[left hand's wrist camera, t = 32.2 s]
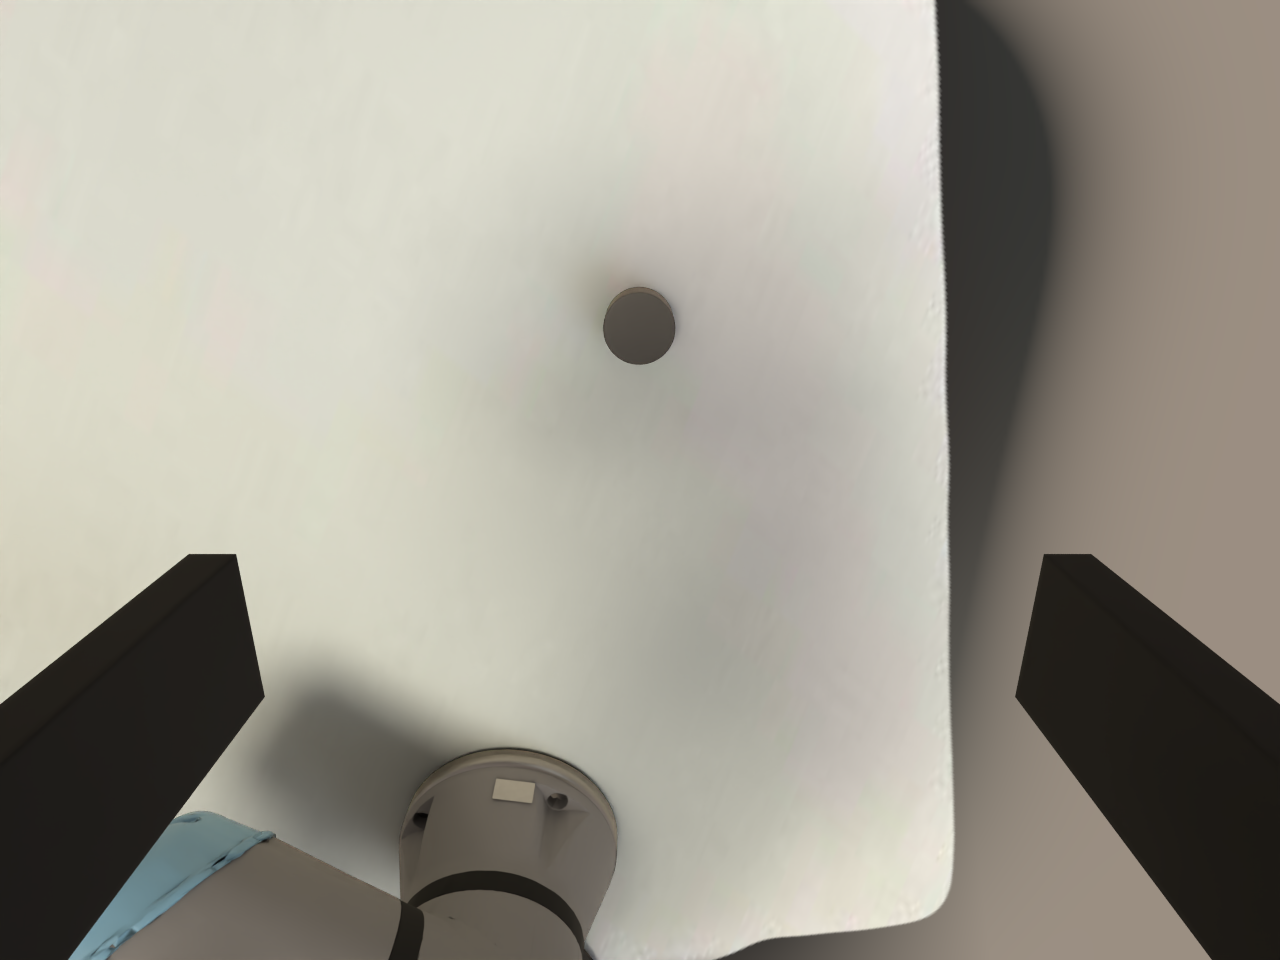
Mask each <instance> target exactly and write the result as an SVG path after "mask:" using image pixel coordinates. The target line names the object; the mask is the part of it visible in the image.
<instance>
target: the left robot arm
mask: <svg viewBox="0 0 1280 960" xmlns="http://www.w3.org/2000/svg"><path fill="white" fill-rule="evenodd" d="M264 697H265V696H264V691H263V686H262V681H261V676H260V671H259V666H258V661H257V656H256V651H255V646H254V641H253V636H252V631H251V626H250V621H249V616H248V611H247V606H246V601H245V596H244V591H243V586H242V581H241V576H240V571H239V566H238V562H237V557H236V554H188V555H187V556H186V557H185V558H183V559H182V560H181V561H180V562H178V563H177V564H176V565H175V566H173V567H172V568H171V569H170V570H168V571H167V572H166V573H165V574H163V575H162V576H161V577H160V578H158V579H157V580H156V581H155V582H153V583H152V584H151V585H150V586H148V587H147V588H146V589H145V590H143V591H142V592H141V593H139V594H138V595H137V596H136V597H134V598H133V599H132V600H131V601H129V602H128V603H127V604H126V605H124V606H123V607H122V608H121V609H119V610H118V611H117V612H116V613H114V614H113V615H112V616H111V617H109V618H108V619H107V620H106V621H104V622H103V623H102V624H101V625H99V626H98V627H97V628H96V629H94V630H93V631H92V632H91V633H89V634H88V635H87V636H86V637H84V638H83V639H82V640H80V641H79V642H78V643H77V644H75V645H74V646H73V647H72V648H70V649H69V650H68V651H67V652H65V653H64V654H63V655H62V656H60V657H59V658H58V659H57V660H55V661H54V662H53V663H52V664H50V665H49V666H48V667H47V668H45V669H44V670H43V671H42V672H40V673H39V674H38V675H37V676H35V677H34V678H33V679H32V680H30V681H29V682H28V683H26V684H25V685H24V686H23V687H21V688H20V689H19V690H18V691H16V692H15V693H14V694H13V695H11V696H10V697H9V698H8V699H6V700H5V701H4V702H3V703H1V704H0V960H593V959H592V958H591V957H590V955H589V954H588V953H587V952H586V951H585V950H584V941H585V939H586V937H587V934H588V932H589V930H590V928H591V925H592V923H593V921H594V919H595V916H596V914H597V912H598V910H599V907H600V905H601V903H602V901H603V898H604V896H605V894H606V891H607V889H608V887H609V885H610V882H611V879H612V876H613V873H614V870H615V865H616V857H617V827H616V821H615V818H614V815H613V812H612V809H611V807H610V805H609V803H608V802H607V800H606V798H605V797H604V795H603V794H602V793H601V791H600V790H599V789H598V788H597V787H596V786H595V784H594V783H593V782H592V781H590V780H589V779H588V778H587V777H586V776H585V775H583V774H582V773H581V772H579V771H578V770H576V769H575V768H573V767H571V766H570V765H568V764H566V763H564V762H562V761H559V760H557V759H554V758H552V757H549V756H546V755H543V754H539V753H534V752H530V751H523V750H511V749H500V750H488V751H482V752H477V753H473V754H469V755H466V756H463V757H460V758H458V759H455V760H453V761H451V762H449V763H447V764H446V765H444V766H442V767H441V768H439V769H438V770H436V771H435V772H434V773H433V774H431V775H430V776H429V777H428V778H427V779H426V780H425V781H424V782H423V783H422V785H421V786H420V787H419V788H418V790H417V792H416V793H415V795H414V797H413V799H412V801H411V803H410V806H409V808H408V811H407V814H406V816H405V819H404V822H403V825H402V828H401V832H400V841H399V865H400V899H401V900H400V899H398V898H396V897H394V896H392V895H390V894H388V893H386V892H384V891H382V890H380V889H378V888H376V887H373V886H371V885H369V884H367V883H365V882H363V881H361V880H359V879H357V878H355V877H353V876H351V875H348V874H346V873H344V872H342V871H340V870H338V869H337V868H335V867H333V866H331V865H329V864H327V863H325V862H323V861H321V860H319V859H317V858H315V857H313V856H311V855H309V854H307V853H305V852H303V851H301V850H299V849H297V848H295V847H293V846H291V845H289V844H287V843H285V842H283V841H281V840H279V839H277V838H276V834H274V833H273V832H270V831H262V832H260V831H258V830H255V829H252V828H250V827H247V826H245V825H242V824H240V823H238V822H235V821H233V820H230V819H228V818H226V817H223V816H221V815H219V814H216V813H213V812H208V811H196V812H190V813H187V814H184V815H182V816H179V817H177V818H175V819H174V817H175V816H176V815H177V813H178V812H179V811H180V809H181V808H182V807H183V805H184V804H185V803H186V801H187V800H188V799H189V797H190V796H191V795H192V793H193V792H194V791H195V789H196V788H197V787H198V785H199V784H200V783H201V781H202V780H203V779H204V777H205V776H206V775H207V773H208V772H209V771H210V769H211V768H212V767H213V765H214V764H215V763H216V761H217V760H218V759H219V757H220V756H221V755H222V753H223V752H224V751H225V749H226V748H227V747H228V745H229V744H230V743H231V741H232V740H233V739H234V737H235V736H236V735H237V733H238V732H239V731H240V729H241V728H242V726H243V725H244V724H245V722H246V721H247V720H248V718H249V717H250V716H251V714H252V713H253V712H254V710H255V709H256V708H257V706H258V705H259V704H260V702H261V701H262V700H263V698H264ZM1015 697H1016V698H1017V700H1018V701H1019V702H1020V704H1021V705H1022V706H1023V708H1024V709H1025V710H1026V712H1027V713H1028V714H1029V716H1030V717H1031V718H1032V720H1033V721H1034V722H1035V724H1036V725H1037V726H1038V728H1039V729H1040V731H1041V732H1042V733H1043V734H1044V736H1045V737H1046V739H1047V740H1048V741H1049V743H1050V744H1051V745H1052V747H1053V748H1054V749H1055V751H1056V752H1057V753H1058V755H1059V756H1060V757H1061V759H1062V760H1063V761H1064V763H1065V764H1066V765H1067V767H1068V768H1069V769H1070V771H1071V772H1072V773H1073V775H1074V776H1075V777H1076V779H1077V780H1078V781H1079V783H1080V784H1081V785H1082V787H1083V788H1084V789H1085V791H1086V792H1087V793H1088V795H1089V796H1090V797H1091V799H1092V800H1093V801H1094V803H1095V804H1096V805H1097V807H1098V808H1099V809H1100V811H1101V812H1102V813H1103V815H1104V816H1105V817H1106V819H1107V820H1108V821H1109V823H1110V824H1111V825H1112V827H1113V828H1114V829H1115V831H1116V832H1117V833H1118V835H1119V836H1120V837H1121V839H1122V840H1123V842H1124V843H1125V844H1126V846H1127V847H1128V848H1129V849H1130V851H1131V852H1132V854H1133V855H1134V856H1135V858H1136V859H1137V860H1138V862H1139V863H1140V864H1141V866H1142V867H1143V868H1144V870H1145V871H1146V872H1147V874H1148V875H1149V876H1150V878H1151V879H1152V880H1153V882H1154V883H1155V884H1156V886H1157V887H1158V888H1159V890H1160V891H1161V892H1162V894H1163V895H1164V896H1165V898H1166V899H1167V900H1168V902H1169V903H1170V904H1171V906H1172V907H1173V908H1174V910H1175V911H1176V912H1177V914H1178V915H1179V916H1180V918H1181V919H1182V920H1183V922H1184V923H1185V924H1186V926H1187V927H1188V928H1189V930H1190V931H1191V932H1192V934H1193V935H1194V936H1195V938H1196V939H1197V940H1198V942H1199V943H1200V944H1201V946H1202V947H1203V948H1204V950H1205V951H1206V953H1207V954H1208V955H1209V957H1210V958H1211V959H1212V960H1280V704H1279V703H1277V702H1276V701H1275V700H1274V699H1272V698H1271V697H1270V696H1269V695H1267V694H1266V693H1265V692H1264V691H1262V690H1261V689H1260V688H1259V687H1257V686H1256V685H1255V684H1254V683H1252V682H1251V681H1250V680H1248V679H1247V678H1246V677H1245V676H1243V675H1242V674H1241V673H1240V672H1238V671H1237V670H1236V669H1235V668H1233V667H1232V666H1231V665H1230V664H1228V663H1227V662H1226V661H1225V660H1223V659H1222V658H1221V657H1220V656H1218V655H1217V654H1216V653H1215V652H1213V651H1212V650H1211V649H1210V648H1208V647H1207V646H1206V645H1205V644H1203V643H1202V642H1201V641H1200V640H1198V639H1197V638H1196V637H1194V636H1193V635H1192V634H1191V633H1189V632H1188V631H1187V630H1186V629H1184V628H1183V627H1182V626H1181V625H1179V624H1178V623H1177V622H1176V621H1174V620H1173V619H1172V618H1171V617H1169V616H1168V615H1167V614H1166V613H1164V612H1163V611H1162V610H1161V609H1159V608H1158V607H1157V606H1156V605H1154V604H1153V603H1152V602H1150V601H1149V600H1148V599H1147V598H1145V597H1144V596H1143V595H1142V594H1140V593H1139V592H1138V591H1137V590H1135V589H1134V588H1133V587H1132V586H1130V585H1129V584H1128V583H1127V582H1125V581H1124V580H1123V579H1122V578H1120V577H1119V576H1118V575H1117V574H1115V573H1114V572H1113V571H1112V570H1110V569H1109V568H1108V567H1107V566H1105V565H1104V564H1103V563H1102V562H1100V561H1099V560H1098V559H1097V558H1095V557H1094V556H1093V555H1091V554H1044V557H1043V562H1042V567H1041V571H1040V576H1039V581H1038V586H1037V591H1036V596H1035V602H1034V606H1033V611H1032V616H1031V621H1030V626H1029V631H1028V636H1027V641H1026V646H1025V651H1024V656H1023V661H1022V666H1021V671H1020V676H1019V681H1018V686H1017V691H1016V696H1015Z"/></svg>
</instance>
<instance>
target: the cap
mask: <svg viewBox="0 0 1280 960" xmlns="http://www.w3.org/2000/svg"><path fill="white" fill-rule="evenodd" d="M603 331H604V337H605V341H606V343H607V345H608V347H609V349H610V350H611V351H612V353H613V354H614V355H615V356H617V357H618V358H619V359H621V360H623V361H625V362H627V363H631V364H638V365H641V364H648V363H651V362H654V361H656V360H658V359H659V358H661V357H662V356H663V355H664V354H665V353H666V352H667V351H668V349H669V348H670V346H671V344H672V342H673V339H674V335H675V322H674V317H673V314H672V311H671V308H670V306H669V304H668V302H667V301H666V300H665V299H664V297H663V296H661V295H660V294H659V293H657V292H656V291H654V290H652V289H648V288H644V287H635V288H630V289H627V290H625V291H623V292H621V293H620V294H618V295H617V296H616V297H615V298H614V299H613V300H612V302H611V303H610V305H609V307H608V309H607V312H606V316H605V319H604V325H603Z"/></svg>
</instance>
